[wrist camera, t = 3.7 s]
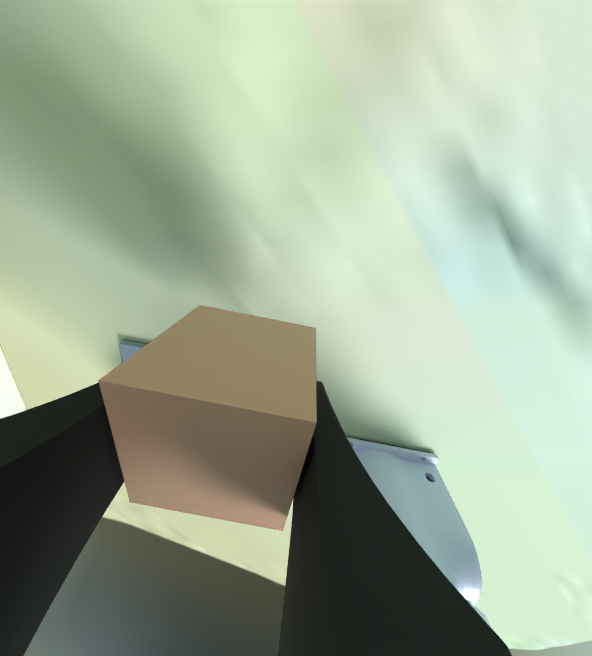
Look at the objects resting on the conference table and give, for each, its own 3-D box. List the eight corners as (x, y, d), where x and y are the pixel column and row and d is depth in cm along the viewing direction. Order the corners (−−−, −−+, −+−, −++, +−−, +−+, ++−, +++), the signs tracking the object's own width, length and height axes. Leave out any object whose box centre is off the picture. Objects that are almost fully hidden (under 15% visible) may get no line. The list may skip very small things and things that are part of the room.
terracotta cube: (315, 328, 10) (316, 422, 5) (295, 412, 12) (283, 530, 7) (200, 305, 10) (98, 380, 5) (200, 394, 12) (129, 502, 7)
